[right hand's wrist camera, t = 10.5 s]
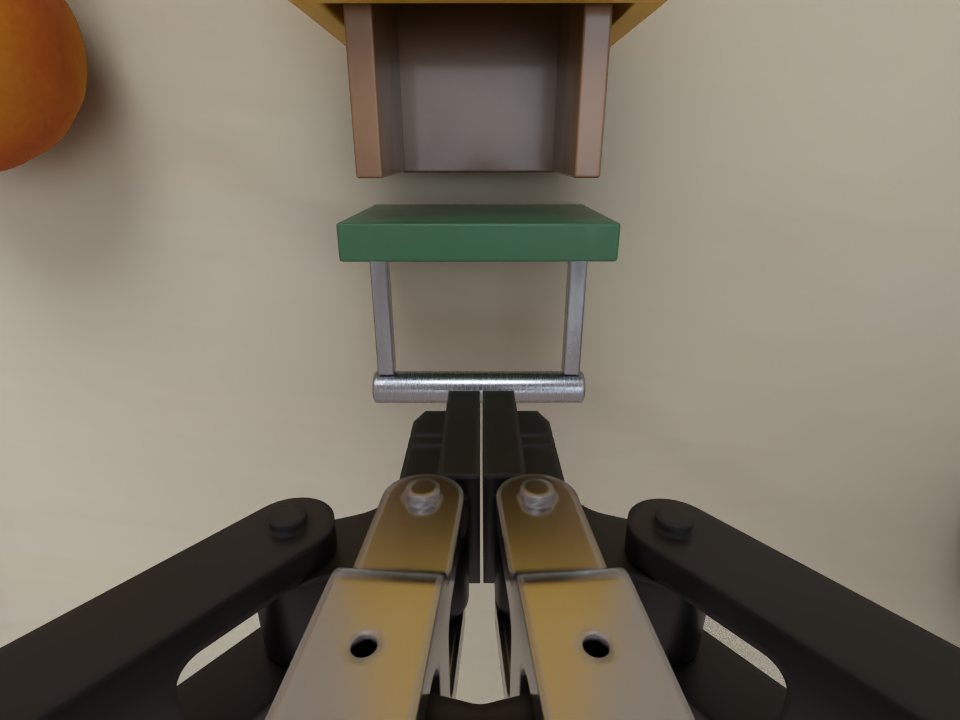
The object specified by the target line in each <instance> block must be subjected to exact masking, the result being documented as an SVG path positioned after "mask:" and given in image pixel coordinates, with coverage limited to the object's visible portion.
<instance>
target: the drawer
mask: <svg viewBox="0 0 960 720" xmlns="http://www.w3.org/2000/svg"><path fill="white" fill-rule="evenodd" d="M612 12H613V3H343V13H344V25H345V38H346V50H347V63H348V75H349V88H350V100H351V113H352V125H353V138H354V150H355V163H356V175H357V177H358V178H383V177H387V176H391V175H395V174H399V173H403V172H556V173H559V174H563V175H567V176H571V177H575V178H598V177H599V176H600V169H601V156H602V143H603V130H604V117H605V104H606V91H607V78H608V64H609V51H610V38H611V25H612ZM336 227H337V237H338V248H339V258H340V261H343V262H370V272H371V285H372V298H373V311H374V325H375V338H376V351H377V364H378V371H377V372H375V374H374V377H373V398H374V401H375V402H376V403H447V400H448V392H449V391H480V403H483V390H514V394H515V401H516V403H581V402H583V400H584V396H585V379H584V375H583V373H582V372H581V371H580V358H581V344H582V330H583V316H584V302H585V288H586V274H587V261H616V260H617V257H618V246H619V235H620V224H619V223H617V222H615V221H614V220H612V219H610V218H608V217H606V216H604V215H602V214H600V213H598V212H596V211H594V210H592V209H590V208H588V207H586V206H584V205H374V206H372V207H370V208H368V209H366V210H364V211H362V212H360V213H358V214H356V215H354V216H352V217H350V218H348V219H346V220H344V221H342V222H340V223H338V224H337V226H336ZM484 261H568V268H567V285H566V302H565V319H564V336H563V353H562V371H395V370H396V360H395V344H394V328H393V311H392V295H391V279H390V263H389V262H484Z"/></svg>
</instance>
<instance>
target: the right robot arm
mask: <svg viewBox="0 0 960 720" xmlns="http://www.w3.org/2000/svg"><path fill="white" fill-rule="evenodd" d="M483 581H484V583H495V627H496V635H497V643H498V651H499V659H500V667H501V675H502V683H503V691H504V699H503V700H500V701H496V702H492V703H488V704H472V703H468V702H464V701H460V700H457V699H456V691H457V683H458V675H459V667H460V659H461V651H462V643H463V635H464V627H465V607H466V605H467V603H468V597H469V583H480V391H449V392H448V400H447V408H446V411H425V412H424V413H423V414H422V415H421V416H420V417H419V418H418V419H416V420H415V421H414V423H413V427H412V431H411V437H410V439H409V443H408V448H407V451H406V455H405V459H404V463H403V467H402V472H401V476H400V480H398V481H396V482H394V483H393V484H391V485H390V486H389V487H388V488H387V489H386V490H385V492H384V494H383V496H382V498H381V501H380V503H379V506H378V508H376V509H374V510H372V511H369V512H366V513H363V514H359V515H355V516H350V517H345V518H341V519H336V520H334V513H333V510H332V509H331V507H330V506H329V505H327V504H326V503H324V502H322V501H320V500H317V499H312V498H292V499H286V500H282V501H278V502H276V503H273V504H270V505H268V506H266V507H264V508H262V509H260V510H258V511H257V512H255V513H253V514H251V515H249V516H247V517H245V518H243V519H242V520H240V521H238V522H236V523H234V524H232V525H230V526H228V527H227V528H225V529H223V530H221V531H219V532H217V533H215V534H213V535H212V536H210V537H208V538H206V539H204V540H202V541H200V542H198V543H197V544H195V545H193V546H191V547H189V548H187V549H185V550H183V551H182V552H180V553H178V554H176V555H174V556H172V557H170V558H168V559H167V560H165V561H163V562H161V563H159V564H157V565H155V566H153V567H152V568H150V569H148V570H146V571H144V572H142V573H140V574H138V575H137V576H135V577H133V578H131V579H129V580H127V581H125V582H123V583H121V584H120V585H118V586H116V587H114V588H112V589H110V590H108V591H106V592H105V593H103V594H101V595H99V596H97V597H95V598H93V599H91V600H90V601H88V602H86V603H84V604H82V605H80V606H78V607H76V608H75V609H73V610H71V611H69V612H67V613H65V614H63V615H61V616H60V617H58V618H56V619H54V620H52V621H50V622H48V623H46V624H45V625H43V626H41V627H39V628H37V629H35V630H33V631H31V632H30V633H28V634H26V635H24V636H22V637H20V638H18V639H16V640H15V641H13V642H11V643H9V644H7V645H5V646H3V647H1V648H0V720H960V648H959V647H957V646H955V645H953V644H951V643H949V642H947V641H945V640H944V639H942V638H940V637H938V636H936V635H934V634H932V633H930V632H929V631H927V630H925V629H923V628H921V627H919V626H917V625H915V624H914V623H912V622H910V621H908V620H906V619H904V618H902V617H900V616H899V615H897V614H895V613H893V612H891V611H889V610H887V609H885V608H884V607H882V606H880V605H878V604H876V603H874V602H872V601H870V600H869V599H867V598H865V597H863V596H861V595H859V594H857V593H855V592H854V591H852V590H850V589H848V588H846V587H844V586H842V585H840V584H839V583H837V582H835V581H833V580H831V579H829V578H827V577H825V576H824V575H822V574H820V573H818V572H816V571H814V570H812V569H810V568H809V567H807V566H805V565H803V564H801V563H799V562H797V561H795V560H794V559H792V558H790V557H788V556H786V555H784V554H782V553H780V552H779V551H777V550H775V549H773V548H771V547H769V546H767V545H765V544H763V543H762V542H760V541H758V540H756V539H754V538H752V537H750V536H748V535H747V534H745V533H743V532H741V531H739V530H737V529H735V528H733V527H732V526H730V525H728V524H726V523H724V522H722V521H720V520H718V519H717V518H715V517H713V516H711V515H709V514H707V513H705V512H703V511H702V510H700V509H698V508H696V507H694V506H692V505H689V504H686V503H683V502H680V501H676V500H670V499H650V500H645V501H642V502H640V503H638V504H636V505H635V506H633V507H632V509H631V510H630V511H629V514H628V519H624V518H619V517H615V516H610V515H606V514H602V513H598V512H596V511H593V510H590V509H588V508H586V507H584V506H583V505H581V503H580V501H579V498H578V496H577V494H576V492H575V490H574V489H573V488H572V487H571V486H570V485H569V484H567V483H566V482H564V478H563V474H562V470H561V466H560V462H559V458H558V454H557V451H556V447H555V443H554V439H553V437H552V431H551V427H550V423H549V421H548V420H546V419H545V418H544V417H543V416H542V415H541V414H540V413H539V412H538V411H517V408H516V401H515V394H514V390H483ZM257 612H258V616H259V621H260V626H261V627H260V628H258V629H257V630H256V631H254V632H253V633H251V634H250V635H248V636H247V637H246V638H244V639H243V640H241V641H240V642H239V643H237V644H236V645H234V646H233V647H232V648H230V649H229V650H227V651H226V652H225V653H223V654H222V655H220V656H219V657H217V658H216V659H215V660H213V661H212V662H210V663H209V664H208V665H206V666H205V667H203V668H202V669H201V670H199V671H198V672H196V673H195V674H193V675H192V676H191V677H189V678H188V679H186V680H185V681H184V682H182V683H181V684H179V685H178V686H177V681H178V678H179V676H180V673H181V672H182V670H183V668H184V667H185V666H186V664H187V663H188V662H189V661H190V660H191V659H192V658H193V657H194V656H195V655H196V654H197V653H199V652H200V651H201V650H203V649H204V648H206V647H207V646H209V645H210V644H212V643H213V642H215V641H216V640H217V639H219V638H220V637H222V636H223V635H225V634H226V633H228V632H229V631H231V630H232V629H234V628H235V627H236V626H238V625H239V624H241V623H242V622H244V621H245V620H247V619H248V618H250V617H251V616H253V615H254V614H255V613H257ZM706 615H707V616H709V617H710V618H712V619H713V620H715V621H716V622H718V623H719V624H721V625H722V626H724V627H725V628H727V629H728V630H729V631H731V632H732V633H734V634H735V635H737V636H738V637H740V638H741V639H743V640H744V641H746V642H747V643H748V644H750V645H751V646H753V647H754V648H756V649H757V650H759V651H760V652H762V653H763V654H764V655H766V656H767V657H768V658H769V659H770V660H771V661H772V662H773V663H774V664H775V665H776V666H777V668H778V669H779V670H780V672H781V674H782V675H783V677H784V680H785V682H786V686H787V689H786V688H785V687H783V686H782V685H781V684H779V683H778V682H776V681H775V680H774V679H772V678H771V677H769V676H768V675H767V674H765V673H764V672H762V671H761V670H759V669H758V668H757V667H755V666H754V665H752V664H751V663H750V662H748V661H747V660H745V659H744V658H743V657H741V656H740V655H738V654H737V653H736V652H734V651H733V650H731V649H730V648H728V647H727V646H726V645H724V644H723V643H721V642H720V641H719V640H717V639H716V638H714V637H713V636H712V635H710V634H709V633H707V632H706V631H704V630H703V626H704V621H705V616H706Z"/></svg>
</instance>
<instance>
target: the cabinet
mask: <svg viewBox="0 0 960 720" xmlns="http://www.w3.org/2000/svg"><path fill="white" fill-rule="evenodd" d="M288 1H290V2H291V3H293V4H294V5H295V6H297V7H298V8H299V9H300V10H302V11H303V12H304V13H305V14H307V15H308V16H309V17H310V18H312V19H313V20H314V21H315V22H317V23H318V24H319V25H320V26H322V27H323V28H324V29H326V30H327V31H328V32H329V33H331V34H332V35H333V36H334V37H336V38H337V39H338V40H339V41H341V42H342V43H343V44H344V45H346V38H345V25H344V13H343V3H613V12H612V25H611V38H610V47H611V46H612V45H613V44H615V43H616V42H617V41H618V40H619V39H621V38H622V37H623V36H624V35H626V34H627V33H628V32H629V31H631V30H632V29H633V28H634V27H635V26H637V25H638V24H639V23H640V22H642V21H643V20H644V19H645V18H647V17H648V16H649V15H650V14H651V13H653V12H654V11H655V10H656V9H658V8H659V7H660V6H661V5H663V4H664V2H666V1H667V0H288Z"/></svg>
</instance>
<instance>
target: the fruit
mask: <svg viewBox="0 0 960 720" xmlns="http://www.w3.org/2000/svg"><path fill="white" fill-rule="evenodd" d="M86 85H87V60H86V51H85V46H84V42H83V38H82V34H81V31H80V29H79V26H78V23H77V21H76V19H75V17H74V15H73V13H72V11H71V9H70V7H69V5H68V4H67V3H66V1H65V0H0V171H3V170H7V169H11V168H13V167H16V166H18V165H21V164H24V163H25V162H27V161H29V160H30V159H32V158H34V157H36V156H38V155H40V154H42V153H44V152H46V151H47V150H49V149H50V148H51V147H52V146H54V145H55V144H57V143H58V142H59V141H60V140H61V139H62V138H63V137H64V136H65V135H66V133H67V132H68V130H69V129H70V126H71V124H72V123H73V121H74V119H75V118H76V116H77V113H78V111H79V110H80V108H81V106H82V104H83V101H84V97H85V93H86Z"/></svg>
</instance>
